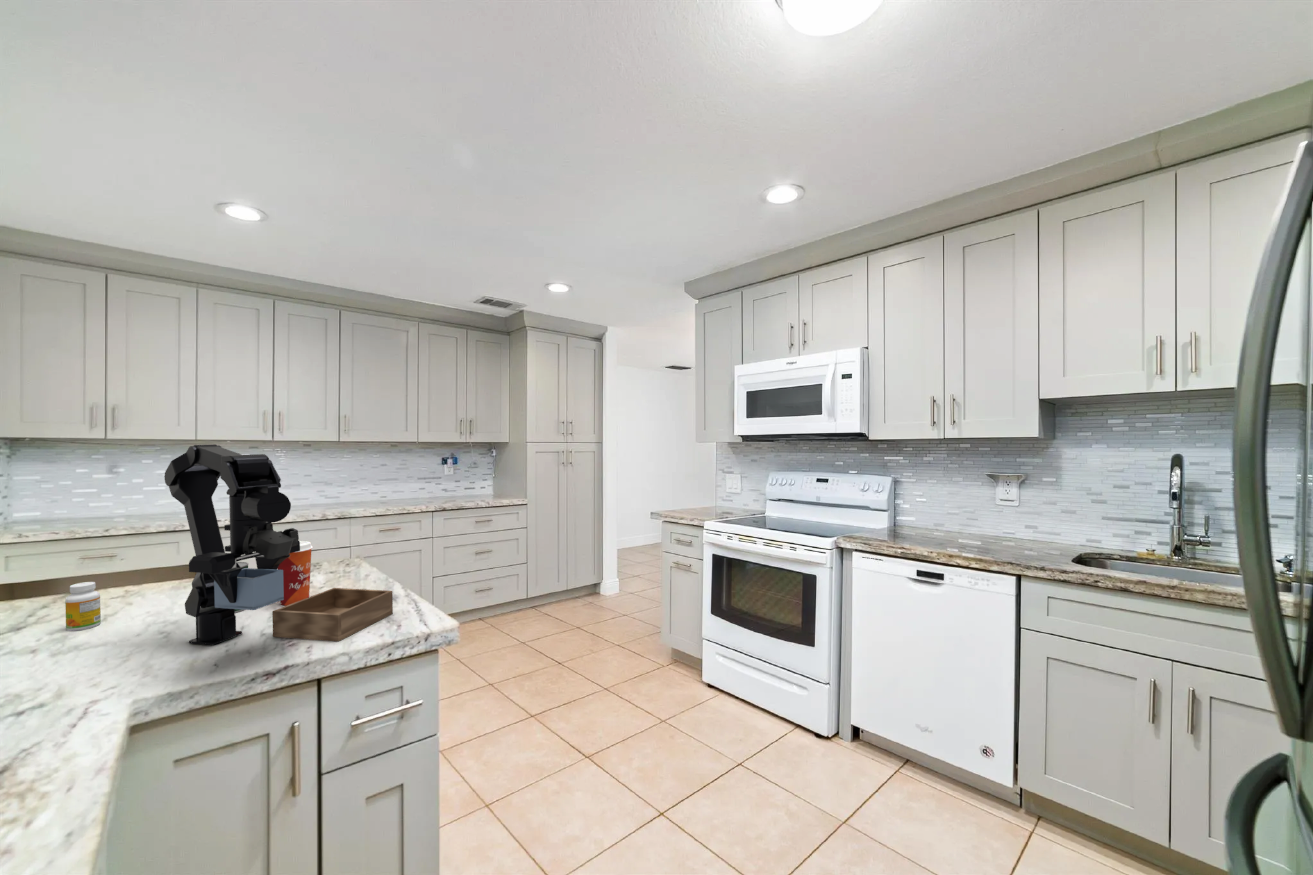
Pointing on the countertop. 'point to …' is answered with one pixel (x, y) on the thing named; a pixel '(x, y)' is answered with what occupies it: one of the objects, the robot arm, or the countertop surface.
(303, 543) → the coffee cup
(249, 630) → the countertop surface
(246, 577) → the small crate
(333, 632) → the big crate
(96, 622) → the supplement bottle
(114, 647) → the countertop surface
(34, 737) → the countertop surface
